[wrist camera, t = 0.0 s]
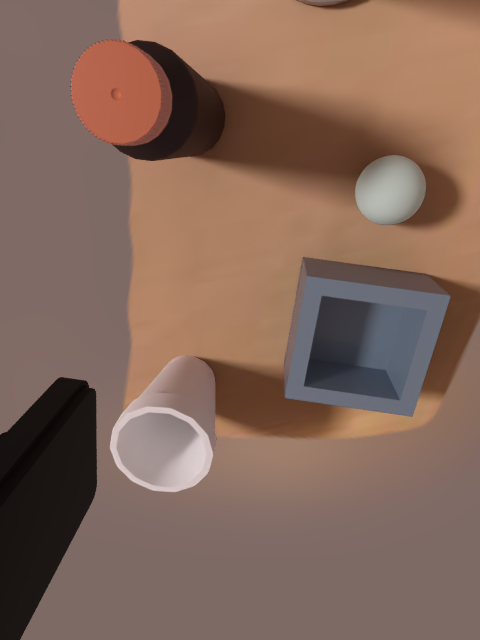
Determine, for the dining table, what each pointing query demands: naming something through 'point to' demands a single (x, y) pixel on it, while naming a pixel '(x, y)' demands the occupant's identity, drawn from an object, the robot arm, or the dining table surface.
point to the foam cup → (169, 428)
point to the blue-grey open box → (362, 336)
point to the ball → (390, 190)
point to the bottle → (146, 100)
